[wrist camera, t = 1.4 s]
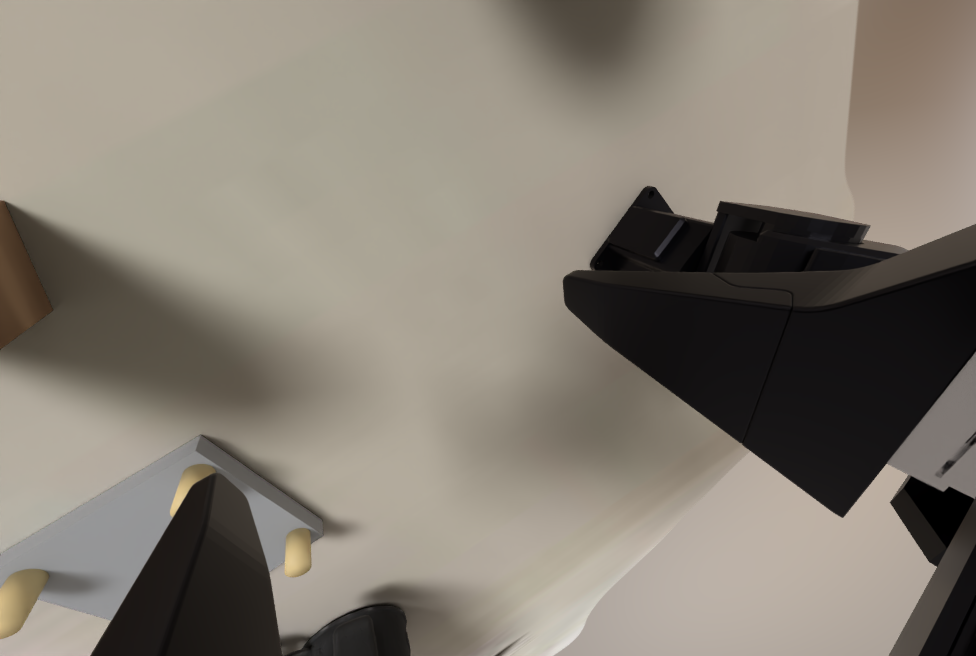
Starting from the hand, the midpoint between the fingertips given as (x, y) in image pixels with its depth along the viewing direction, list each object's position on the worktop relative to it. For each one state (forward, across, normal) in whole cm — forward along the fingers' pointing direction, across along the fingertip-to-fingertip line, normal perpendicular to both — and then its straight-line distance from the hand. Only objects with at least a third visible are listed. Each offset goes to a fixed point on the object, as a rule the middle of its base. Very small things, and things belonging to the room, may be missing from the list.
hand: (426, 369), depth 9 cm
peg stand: (+14, +14, +13) cm, 23 cm away
